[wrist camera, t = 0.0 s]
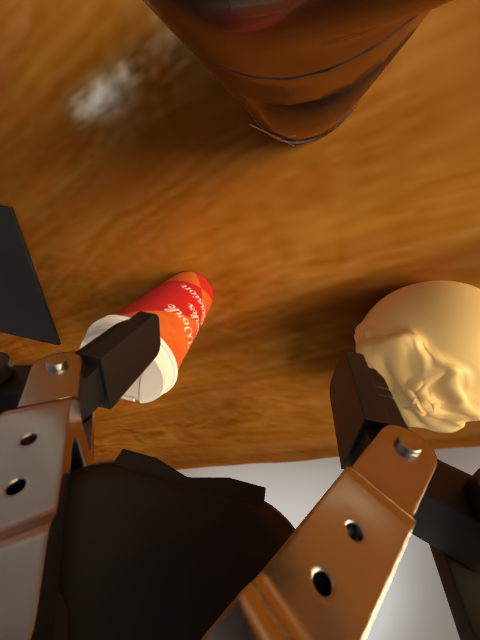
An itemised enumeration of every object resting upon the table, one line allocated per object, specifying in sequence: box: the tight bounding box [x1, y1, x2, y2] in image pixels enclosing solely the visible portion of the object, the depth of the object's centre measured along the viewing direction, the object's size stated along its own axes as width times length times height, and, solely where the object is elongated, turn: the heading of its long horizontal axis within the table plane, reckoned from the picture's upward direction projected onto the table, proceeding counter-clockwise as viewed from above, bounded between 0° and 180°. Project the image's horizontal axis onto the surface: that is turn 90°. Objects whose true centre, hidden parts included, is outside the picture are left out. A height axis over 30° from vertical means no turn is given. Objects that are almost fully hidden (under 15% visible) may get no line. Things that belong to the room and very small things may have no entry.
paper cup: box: [80, 271, 214, 403], centre depth 24 cm, size 8×8×14 cm
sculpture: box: [354, 280, 480, 433], centre depth 22 cm, size 11×12×11 cm
